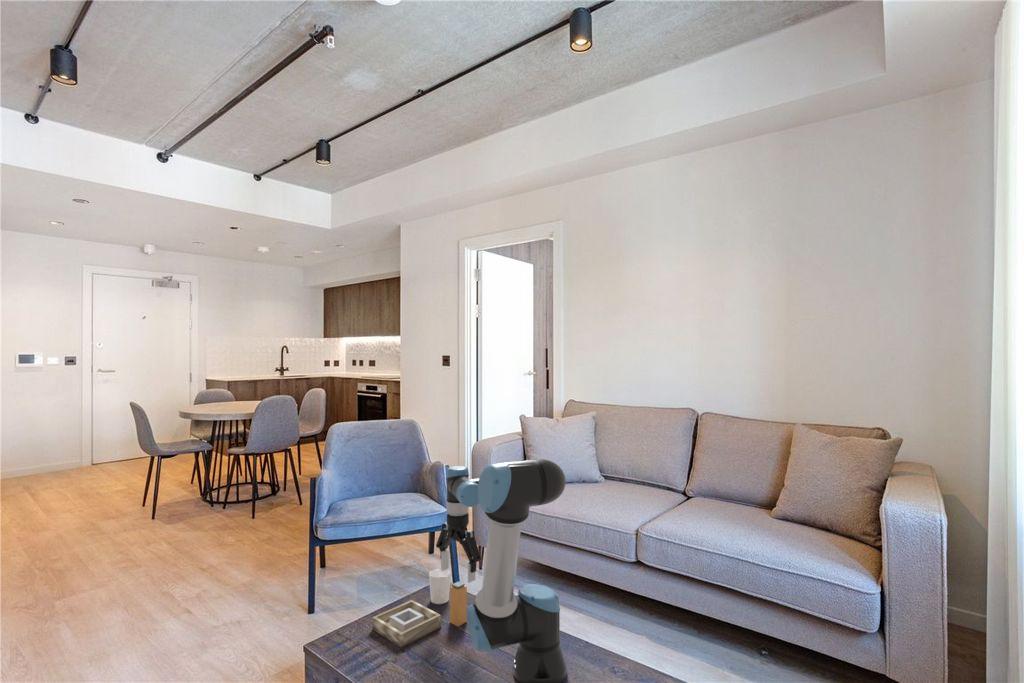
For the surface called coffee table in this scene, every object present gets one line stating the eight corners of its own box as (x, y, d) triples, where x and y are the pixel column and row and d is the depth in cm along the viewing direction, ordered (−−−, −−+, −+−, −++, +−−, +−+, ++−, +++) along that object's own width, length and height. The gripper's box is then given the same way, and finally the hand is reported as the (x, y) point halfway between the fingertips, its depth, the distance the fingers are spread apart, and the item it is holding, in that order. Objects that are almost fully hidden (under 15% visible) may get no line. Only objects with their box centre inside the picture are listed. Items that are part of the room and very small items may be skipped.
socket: (423, 624, 170) (423, 615, 170) (404, 634, 164) (404, 625, 164) (409, 616, 175) (409, 607, 175) (389, 625, 169) (389, 616, 170)
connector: (466, 621, 173) (466, 583, 174) (458, 626, 171) (457, 587, 171) (458, 617, 176) (458, 580, 177) (450, 622, 173) (449, 584, 174)
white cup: (454, 597, 191) (454, 570, 191) (443, 606, 184) (443, 578, 184) (436, 593, 194) (436, 567, 195) (425, 602, 187) (424, 575, 187)
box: (441, 627, 170) (440, 614, 170) (401, 647, 158) (401, 634, 159) (411, 611, 181) (411, 599, 181) (372, 629, 169) (372, 617, 169)
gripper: (491, 517, 169) (491, 582, 168) (442, 502, 186) (442, 561, 185) (474, 523, 163) (475, 590, 163) (426, 507, 180) (426, 568, 180)
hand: (457, 575), depth 174 cm, fingers open, 13 cm apart
